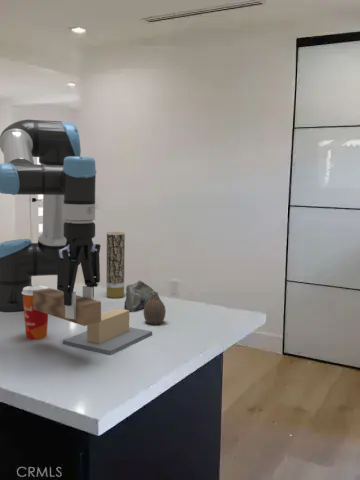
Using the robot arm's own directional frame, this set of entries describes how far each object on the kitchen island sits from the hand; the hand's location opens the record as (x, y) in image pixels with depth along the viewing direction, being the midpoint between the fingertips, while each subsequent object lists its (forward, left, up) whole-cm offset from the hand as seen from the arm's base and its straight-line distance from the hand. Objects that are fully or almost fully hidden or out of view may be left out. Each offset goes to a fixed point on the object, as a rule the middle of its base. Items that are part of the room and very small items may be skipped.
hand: (79, 314), depth 120 cm
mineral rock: (-14, +50, -11) cm, 54 cm away
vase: (-1, +37, -11) cm, 38 cm away
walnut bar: (-6, +1, -1) cm, 6 cm away
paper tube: (-33, +60, -11) cm, 69 cm away
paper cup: (-21, +7, -11) cm, 25 cm away
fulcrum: (-3, +16, -11) cm, 19 cm away
